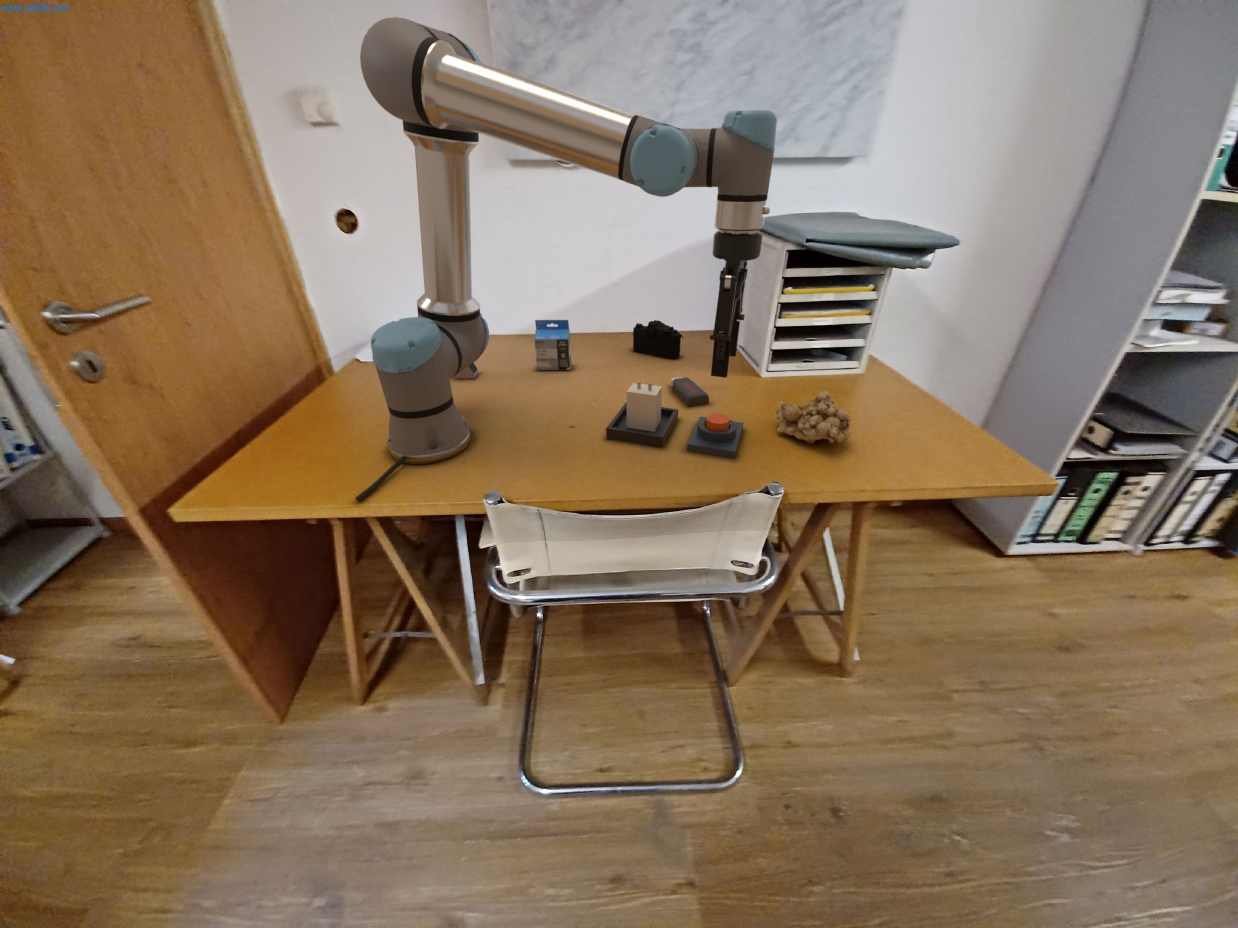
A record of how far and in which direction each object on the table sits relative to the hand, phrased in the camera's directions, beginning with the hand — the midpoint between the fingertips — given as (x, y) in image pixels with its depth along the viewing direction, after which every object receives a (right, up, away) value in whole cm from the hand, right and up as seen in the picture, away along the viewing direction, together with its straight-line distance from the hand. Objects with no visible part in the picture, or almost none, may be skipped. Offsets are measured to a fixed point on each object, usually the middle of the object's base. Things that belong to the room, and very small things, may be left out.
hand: (723, 365), depth 90 cm
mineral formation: (+19, -13, +9) cm, 25 cm away
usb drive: (-3, -2, +26) cm, 27 cm away
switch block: (0, -13, +8) cm, 16 cm away
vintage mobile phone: (-58, +4, +37) cm, 69 cm away
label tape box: (-36, +7, +42) cm, 56 cm away
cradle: (-14, -11, +13) cm, 22 cm away
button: (0, -11, +7) cm, 13 cm away
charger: (-14, -10, +12) cm, 21 cm away
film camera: (-7, +14, +52) cm, 54 cm away
